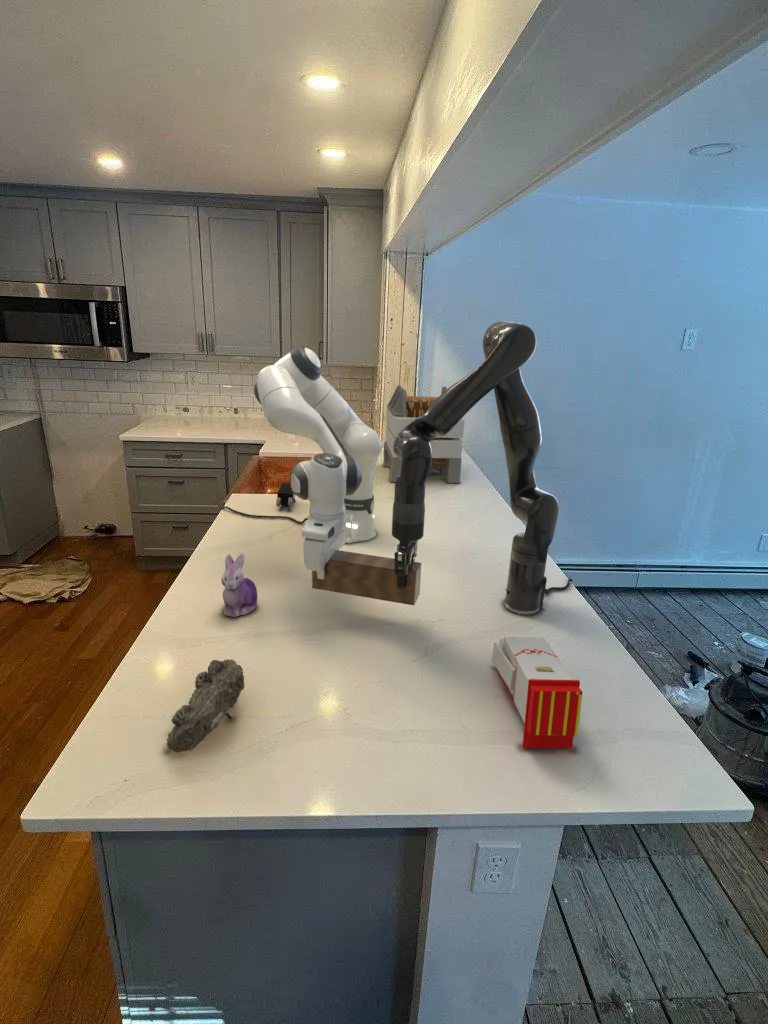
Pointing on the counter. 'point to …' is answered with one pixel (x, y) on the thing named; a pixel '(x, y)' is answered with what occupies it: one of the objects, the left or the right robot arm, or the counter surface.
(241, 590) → the figurine
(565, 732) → the toy
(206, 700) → the fossil
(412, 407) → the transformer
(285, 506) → the figurine character
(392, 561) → the box
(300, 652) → the counter surface
